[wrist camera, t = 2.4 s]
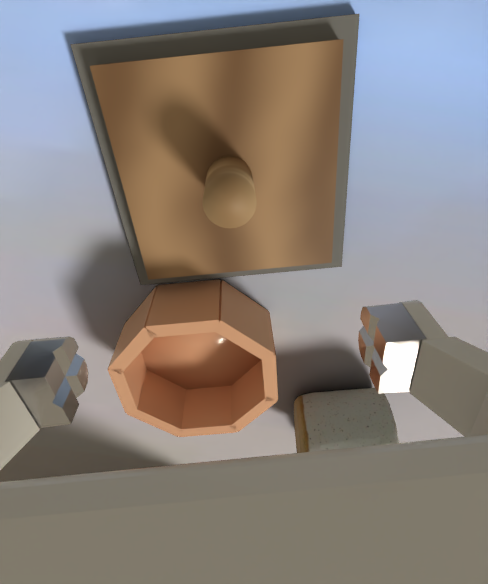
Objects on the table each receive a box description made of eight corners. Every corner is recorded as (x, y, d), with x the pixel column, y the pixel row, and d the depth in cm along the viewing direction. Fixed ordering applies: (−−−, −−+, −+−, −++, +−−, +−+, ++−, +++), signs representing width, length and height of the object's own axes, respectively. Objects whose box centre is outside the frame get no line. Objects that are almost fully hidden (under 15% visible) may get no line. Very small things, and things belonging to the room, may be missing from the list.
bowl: (267, 274, 28) (273, 314, 24) (273, 382, 35) (279, 428, 31) (111, 289, 28) (91, 331, 24) (147, 393, 35) (137, 440, 31)
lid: (338, 39, 20) (368, 38, 15) (328, 255, 27) (346, 295, 23) (95, 64, 20) (60, 70, 16) (150, 272, 27) (136, 313, 23)
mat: (356, 14, 19) (359, 13, 19) (339, 262, 28) (341, 266, 27) (74, 44, 20) (70, 44, 19) (142, 280, 28) (140, 285, 28)
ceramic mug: (289, 378, 35) (302, 454, 28) (376, 369, 34) (409, 445, 28) (292, 443, 41) (304, 518, 34) (366, 436, 41) (392, 510, 34)
